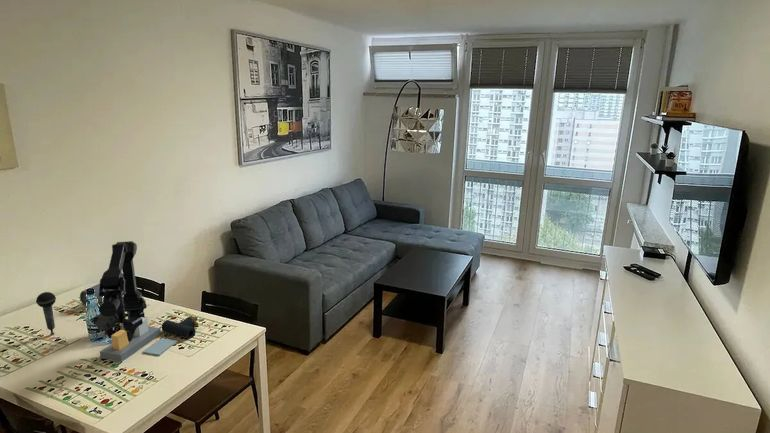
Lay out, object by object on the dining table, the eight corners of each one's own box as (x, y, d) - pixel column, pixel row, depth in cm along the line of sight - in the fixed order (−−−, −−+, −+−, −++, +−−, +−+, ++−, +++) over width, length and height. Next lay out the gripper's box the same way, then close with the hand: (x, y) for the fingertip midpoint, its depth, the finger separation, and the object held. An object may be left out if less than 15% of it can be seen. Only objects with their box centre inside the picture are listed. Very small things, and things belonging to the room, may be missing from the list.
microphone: (39, 336, 190) (31, 293, 184) (57, 329, 195) (49, 288, 190) (48, 340, 186) (39, 297, 181) (65, 333, 192) (58, 291, 187)
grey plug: (134, 341, 188) (132, 322, 186) (143, 335, 193) (141, 317, 190) (140, 342, 187) (138, 323, 185) (149, 336, 192) (147, 318, 190)
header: (100, 358, 175) (99, 351, 175) (141, 331, 196) (141, 325, 195) (121, 361, 173) (120, 355, 173) (161, 334, 194) (160, 328, 193)
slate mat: (142, 352, 180) (142, 351, 180) (161, 339, 190) (161, 338, 190) (159, 355, 178) (159, 354, 178) (177, 341, 188) (177, 340, 188)
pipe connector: (181, 311, 204) (206, 318, 199) (183, 321, 206) (207, 329, 200) (160, 322, 194) (185, 330, 188) (162, 333, 196) (187, 341, 190)
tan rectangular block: (114, 355, 177) (111, 335, 175) (123, 348, 182) (121, 329, 180) (120, 356, 177) (117, 336, 175) (130, 350, 182) (127, 330, 179)
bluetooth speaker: (122, 289, 237) (119, 272, 234) (134, 292, 234) (132, 275, 231) (80, 307, 216) (77, 288, 214) (93, 310, 213) (90, 292, 211)
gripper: (78, 310, 168) (84, 346, 172) (119, 317, 165) (124, 353, 169) (102, 298, 179) (107, 332, 183) (141, 304, 175) (145, 339, 179)
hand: (120, 339), depth 178 cm, fingers open, 9 cm apart
